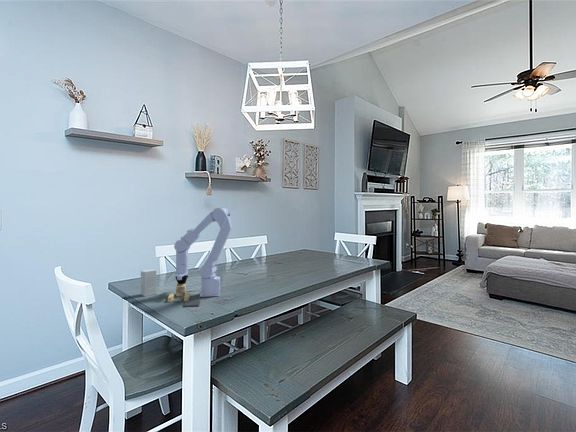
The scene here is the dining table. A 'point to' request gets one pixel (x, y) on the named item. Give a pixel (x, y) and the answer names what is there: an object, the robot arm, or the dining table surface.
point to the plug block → (180, 290)
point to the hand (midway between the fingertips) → (181, 290)
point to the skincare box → (148, 282)
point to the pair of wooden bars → (173, 297)
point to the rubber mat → (192, 303)
